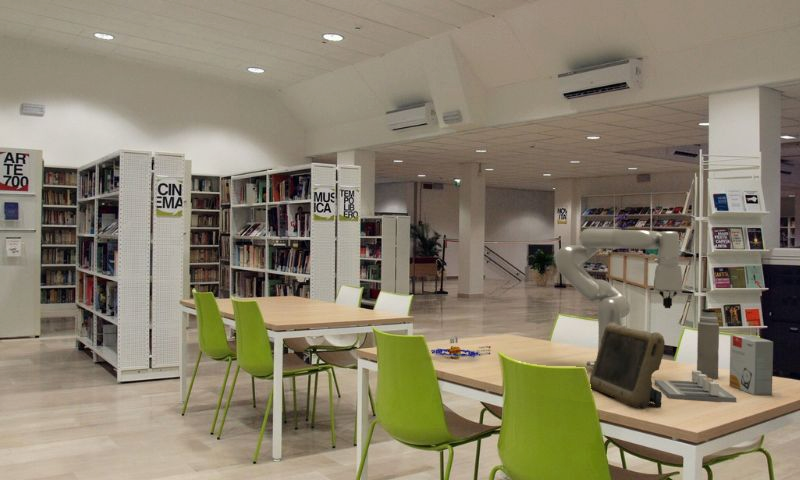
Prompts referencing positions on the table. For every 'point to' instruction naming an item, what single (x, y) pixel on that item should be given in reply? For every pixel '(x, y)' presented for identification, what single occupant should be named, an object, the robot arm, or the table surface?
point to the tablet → (628, 365)
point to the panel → (691, 391)
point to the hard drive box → (751, 364)
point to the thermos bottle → (708, 344)
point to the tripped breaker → (706, 383)
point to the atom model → (458, 351)
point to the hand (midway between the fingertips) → (667, 307)
